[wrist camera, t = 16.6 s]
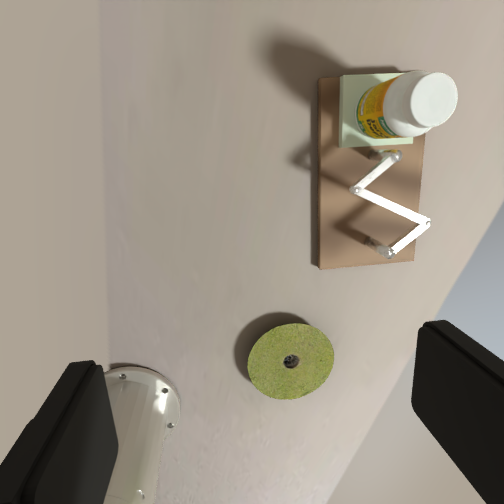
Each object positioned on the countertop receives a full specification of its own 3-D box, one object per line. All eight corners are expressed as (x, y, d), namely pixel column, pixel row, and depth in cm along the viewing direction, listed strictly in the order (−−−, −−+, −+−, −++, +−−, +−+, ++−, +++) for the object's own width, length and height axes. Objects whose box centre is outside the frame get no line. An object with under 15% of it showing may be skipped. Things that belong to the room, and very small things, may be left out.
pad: (407, 143, 38) (412, 143, 37) (338, 147, 37) (342, 147, 36) (413, 74, 36) (418, 72, 35) (340, 77, 35) (343, 75, 34)
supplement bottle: (410, 98, 36) (480, 81, 27) (386, 147, 37) (445, 147, 28) (367, 75, 35) (424, 49, 26) (344, 126, 36) (390, 119, 27)
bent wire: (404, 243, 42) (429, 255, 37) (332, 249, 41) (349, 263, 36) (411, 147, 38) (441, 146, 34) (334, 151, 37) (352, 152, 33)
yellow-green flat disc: (332, 381, 48) (337, 390, 46) (252, 397, 47) (254, 408, 45) (325, 309, 44) (330, 316, 42) (239, 325, 43) (241, 333, 41)
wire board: (409, 258, 43) (413, 260, 43) (317, 266, 42) (320, 269, 41) (425, 75, 37) (430, 73, 36) (318, 79, 36) (321, 77, 35)
